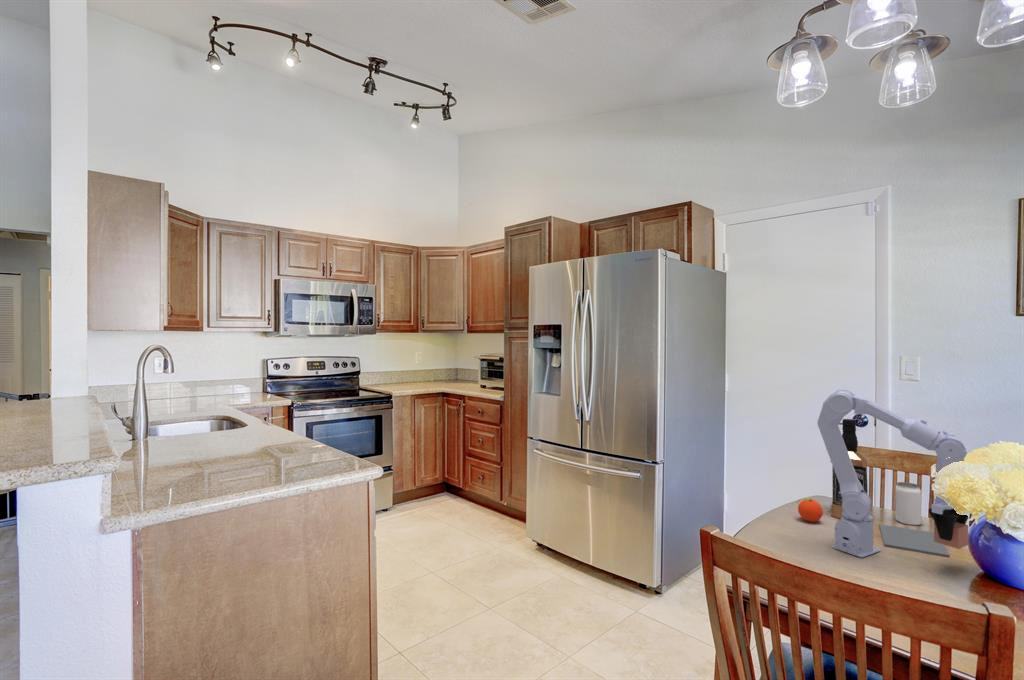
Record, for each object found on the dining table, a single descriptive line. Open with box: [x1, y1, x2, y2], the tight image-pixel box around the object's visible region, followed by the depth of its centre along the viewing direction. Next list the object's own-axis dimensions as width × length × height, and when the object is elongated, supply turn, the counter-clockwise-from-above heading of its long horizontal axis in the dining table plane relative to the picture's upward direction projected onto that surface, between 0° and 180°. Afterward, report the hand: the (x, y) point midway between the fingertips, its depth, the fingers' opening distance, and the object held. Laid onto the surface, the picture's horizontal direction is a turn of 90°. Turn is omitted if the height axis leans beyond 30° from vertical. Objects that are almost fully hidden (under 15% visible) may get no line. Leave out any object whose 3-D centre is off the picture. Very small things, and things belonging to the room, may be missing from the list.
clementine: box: [797, 498, 824, 523], centre depth 162 cm, size 8×7×7 cm
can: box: [894, 481, 923, 527], centre depth 159 cm, size 6×6×12 cm
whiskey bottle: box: [830, 418, 871, 519], centre depth 166 cm, size 10×10×32 cm
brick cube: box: [933, 521, 969, 549], centre depth 127 cm, size 5×5×5 cm
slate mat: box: [879, 523, 950, 558], centre depth 145 cm, size 18×14×1 cm
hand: (950, 537), depth 127 cm, fingers closed on brick cube, 5 cm apart
